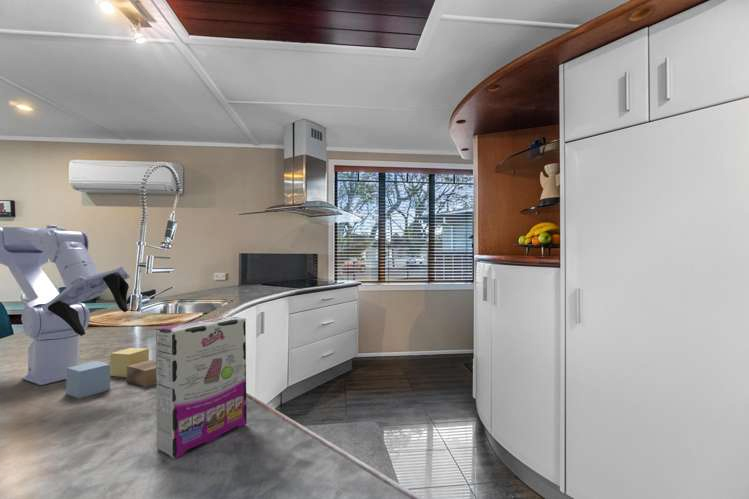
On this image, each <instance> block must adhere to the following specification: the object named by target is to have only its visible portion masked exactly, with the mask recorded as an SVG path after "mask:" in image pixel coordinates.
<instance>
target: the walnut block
mask: <svg viewBox="0 0 749 499" xmlns="http://www.w3.org/2000/svg"><path fill="white" fill-rule="evenodd" d="M126 382H128V383H131V384H134V385H137V386H141V387H144V388H146V387H150V386H153V385H157V379H156V358H152V359H149V361H145V362H141V363H137V364H133V365H129V366H127V377H126Z"/></svg>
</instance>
